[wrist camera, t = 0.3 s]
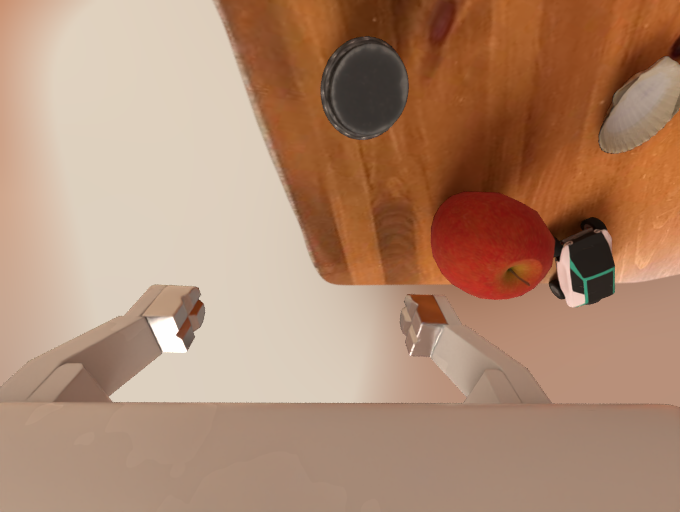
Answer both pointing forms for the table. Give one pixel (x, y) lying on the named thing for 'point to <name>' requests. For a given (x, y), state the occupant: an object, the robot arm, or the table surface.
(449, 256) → the apple
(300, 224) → the table surface
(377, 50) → the pill bottle
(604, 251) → the toy car
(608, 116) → the seashell
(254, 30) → the table surface
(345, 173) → the table surface
